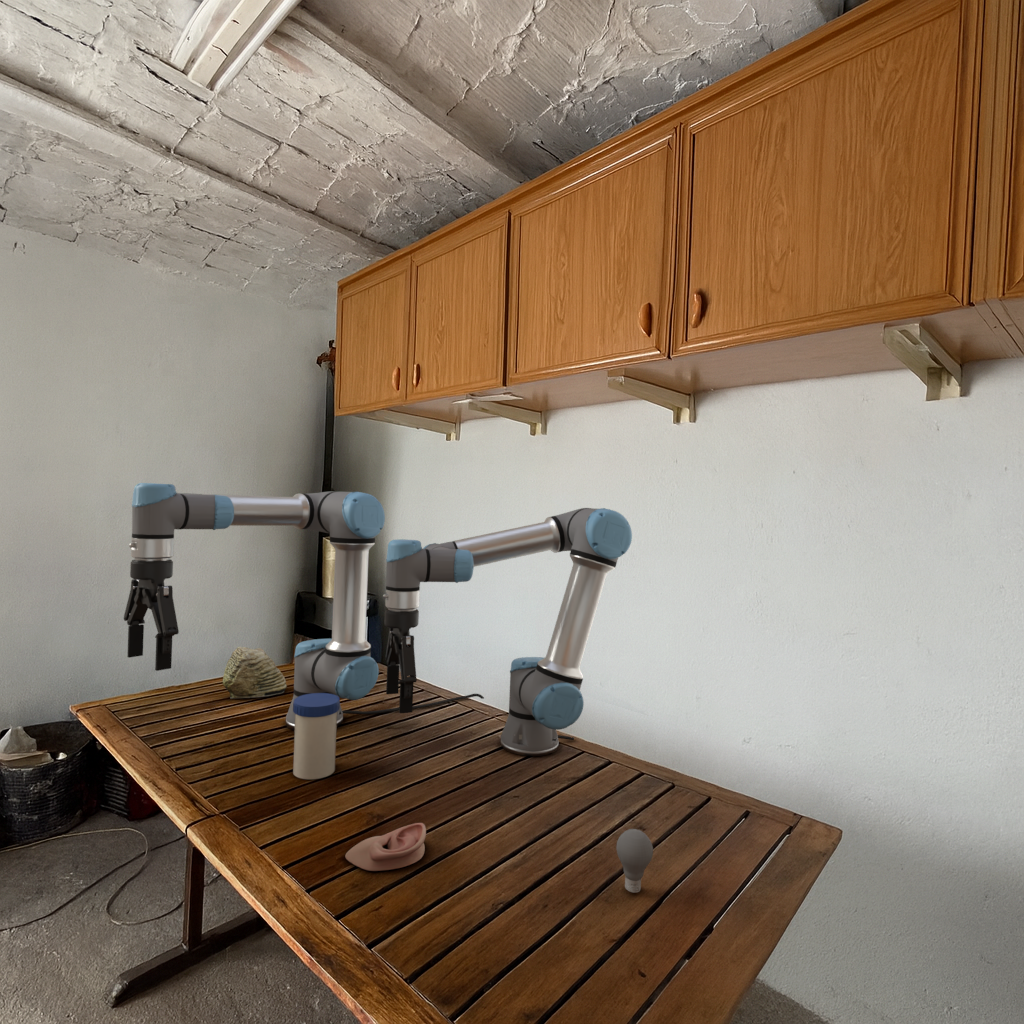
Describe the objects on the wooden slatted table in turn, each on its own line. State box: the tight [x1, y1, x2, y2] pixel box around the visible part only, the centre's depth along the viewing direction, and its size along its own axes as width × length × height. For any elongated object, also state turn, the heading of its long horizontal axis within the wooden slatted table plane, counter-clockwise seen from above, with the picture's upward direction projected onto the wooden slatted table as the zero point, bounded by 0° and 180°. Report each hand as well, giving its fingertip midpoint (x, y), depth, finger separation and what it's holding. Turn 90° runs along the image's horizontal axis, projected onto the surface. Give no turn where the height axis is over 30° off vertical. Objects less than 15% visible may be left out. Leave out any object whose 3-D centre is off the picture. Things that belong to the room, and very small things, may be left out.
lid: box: [293, 693, 341, 717], centre depth 146 cm, size 10×10×2 cm
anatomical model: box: [344, 822, 427, 872], centre depth 113 cm, size 13×4×12 cm
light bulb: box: [615, 828, 654, 894], centre depth 106 cm, size 6×6×10 cm
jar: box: [292, 712, 338, 780], centre depth 146 cm, size 9×9×16 cm
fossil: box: [222, 646, 288, 699], centre depth 198 cm, size 9×18×15 cm, turn 132°
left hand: (148, 662), depth 129 cm, fingers open, 13 cm apart
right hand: (398, 702), depth 142 cm, fingers open, 13 cm apart
